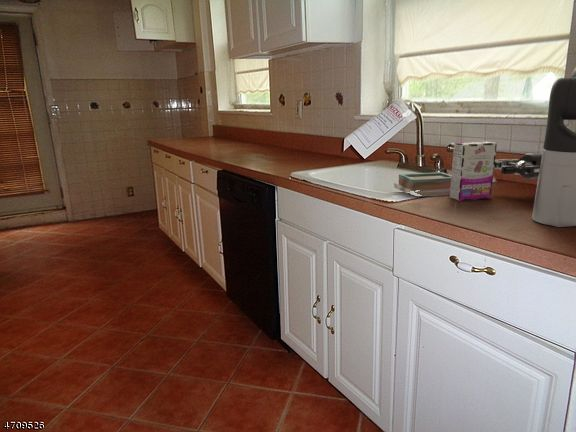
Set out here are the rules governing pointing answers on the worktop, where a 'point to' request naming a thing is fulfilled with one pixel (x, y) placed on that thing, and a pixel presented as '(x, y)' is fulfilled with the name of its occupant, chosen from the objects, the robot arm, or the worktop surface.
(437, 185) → the foundation
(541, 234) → the worktop surface
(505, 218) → the worktop surface
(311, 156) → the worktop surface
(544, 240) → the worktop surface
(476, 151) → the candy bar box
